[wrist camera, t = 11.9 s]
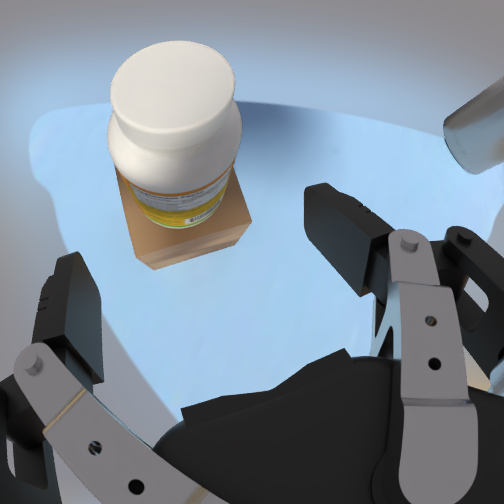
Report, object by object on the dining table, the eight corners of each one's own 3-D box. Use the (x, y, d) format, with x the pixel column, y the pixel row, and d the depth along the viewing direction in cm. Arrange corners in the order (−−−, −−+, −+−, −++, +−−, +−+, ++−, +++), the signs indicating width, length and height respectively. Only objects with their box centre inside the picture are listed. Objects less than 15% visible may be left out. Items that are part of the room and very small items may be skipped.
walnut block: (210, 170, 26) (217, 122, 19) (234, 245, 26) (252, 221, 18) (133, 192, 25) (112, 150, 17) (153, 270, 24) (135, 257, 16)
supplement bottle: (150, 138, 18) (128, 21, 8) (233, 156, 18) (270, 44, 9) (123, 219, 17) (59, 139, 7) (213, 239, 17) (237, 172, 8)
